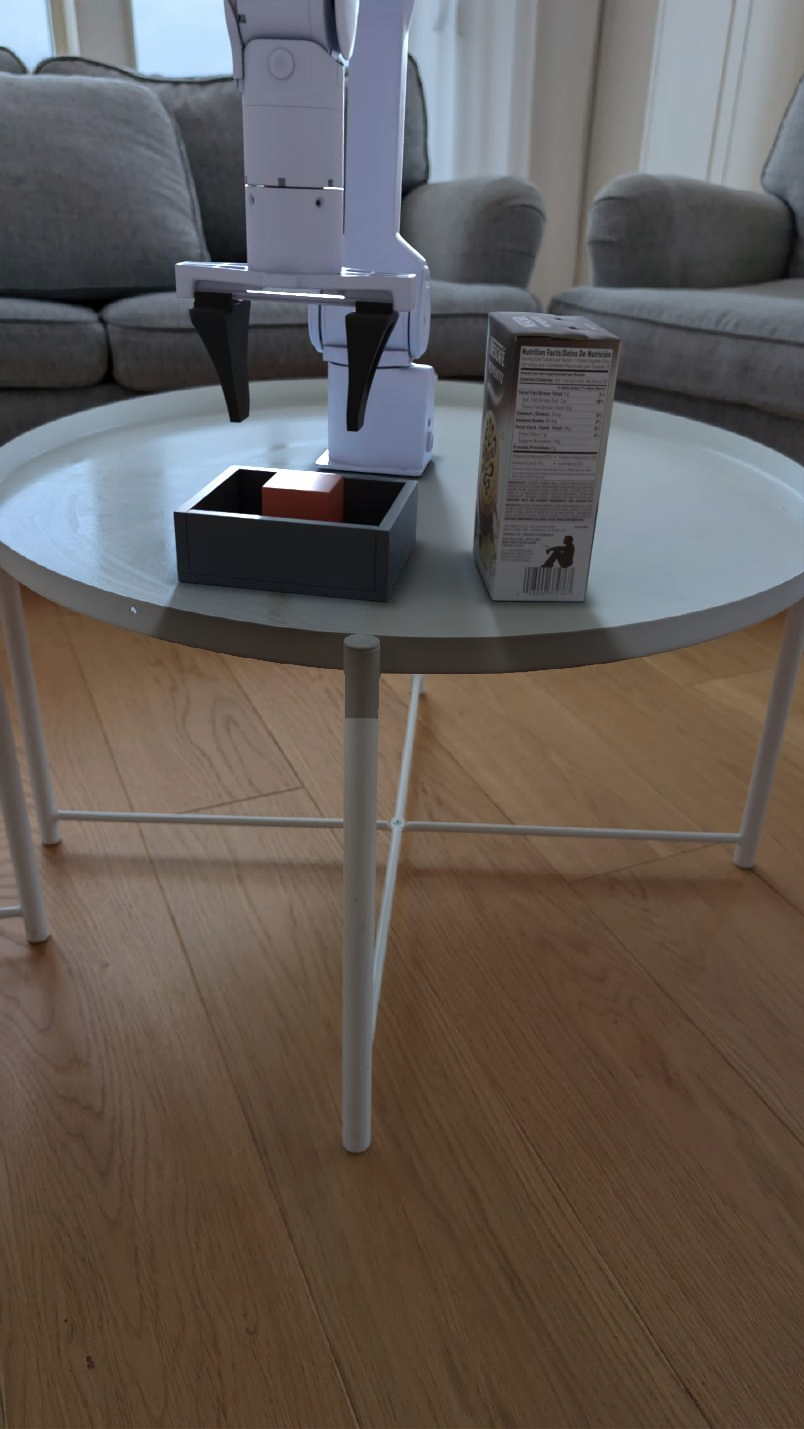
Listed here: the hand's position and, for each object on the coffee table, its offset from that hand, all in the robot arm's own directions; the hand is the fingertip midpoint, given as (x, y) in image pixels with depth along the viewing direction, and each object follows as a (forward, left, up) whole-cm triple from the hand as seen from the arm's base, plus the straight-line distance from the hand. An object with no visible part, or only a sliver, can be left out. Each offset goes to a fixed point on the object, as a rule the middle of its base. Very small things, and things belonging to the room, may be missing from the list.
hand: (297, 424), depth 66 cm
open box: (-1, +1, -9) cm, 9 cm away
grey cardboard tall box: (-16, 0, -9) cm, 18 cm away
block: (-1, +1, -8) cm, 8 cm away
